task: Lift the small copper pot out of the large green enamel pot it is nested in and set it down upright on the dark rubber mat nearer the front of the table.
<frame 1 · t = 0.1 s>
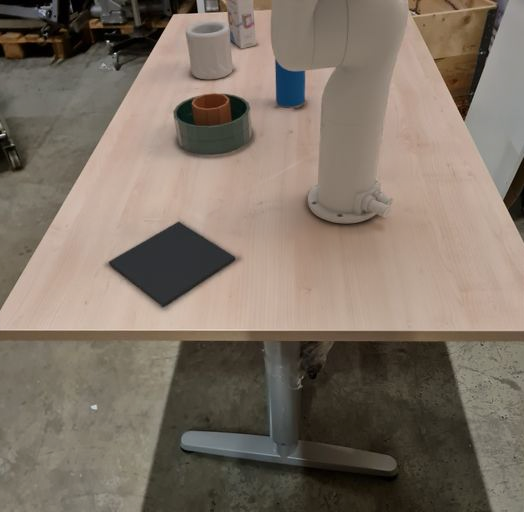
rubber mat: (172, 262, 75), on the table
green pot: (215, 138, 100), on the table
mug: (210, 71, 124), on the table
ink box: (242, 43, 136), on the table
copper pot: (214, 136, 100), point 1 cm above the table, touching green pot
beverage can: (290, 105, 109), on the table
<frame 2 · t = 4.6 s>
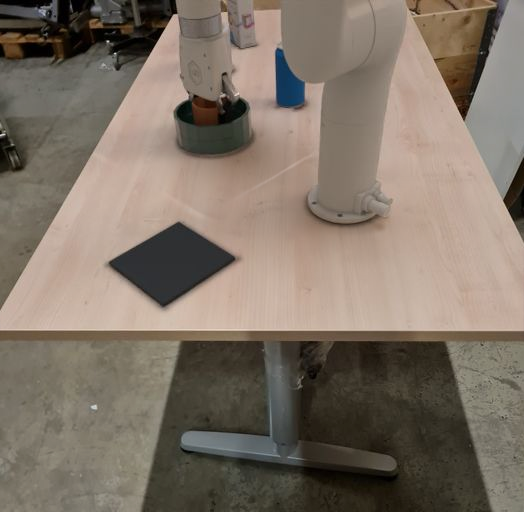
hand: (213, 125, 98), 3 cm above the table, tool pointing down, fingers closed on copper pot, 7 cm apart
copper pot: (214, 136, 100), point 1 cm above the table, touching green pot, gripper
everything else where it was.
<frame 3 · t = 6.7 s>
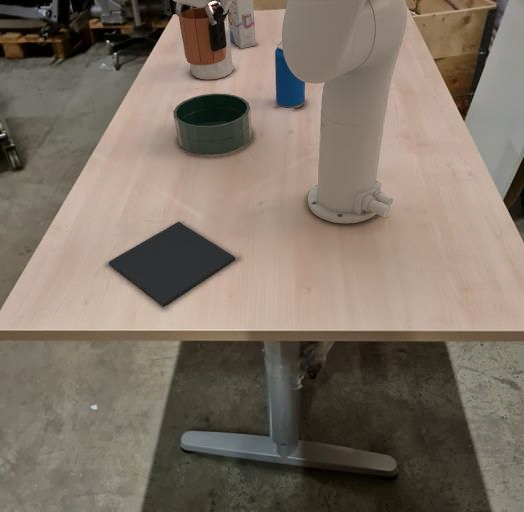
hand: (204, 44, 86), 18 cm above the table, tool pointing down, fingers closed on copper pot, 7 cm apart
copper pot: (206, 58, 88), point 15 cm above the table, touching gripper
everything else where it was.
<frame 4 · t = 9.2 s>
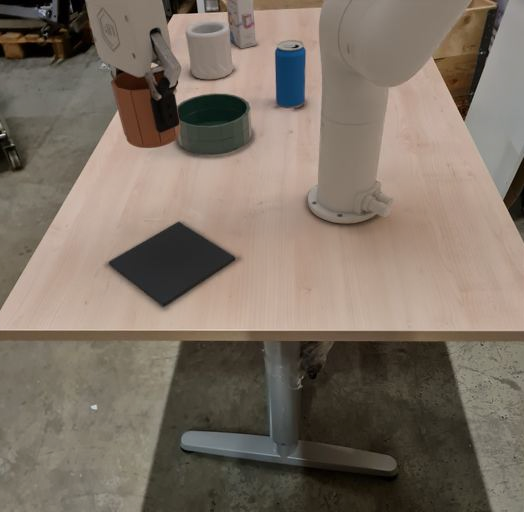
hand: (150, 118, 63), 20 cm above the table, tool pointing down, fingers closed on copper pot, 7 cm apart
copper pot: (153, 135, 64), point 18 cm above the table, touching gripper
everything else where it was.
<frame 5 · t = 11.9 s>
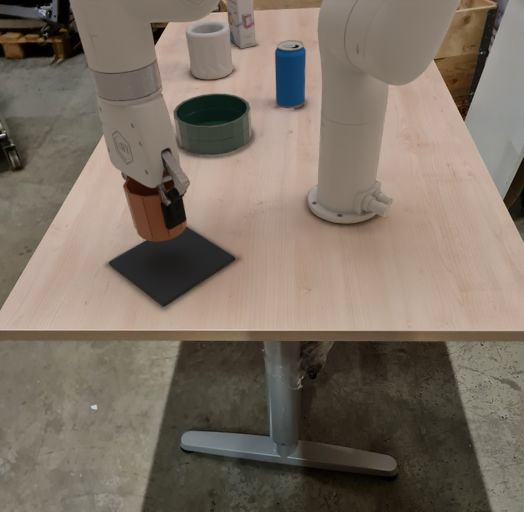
hand: (158, 212, 68), 9 cm above the table, tool pointing down, fingers closed on copper pot, 7 cm apart
copper pot: (161, 226, 69), point 7 cm above the table, touching gripper
everything else where it was.
when the fingers open (3 cm above the table, at t = 13.9 s): copper pot stays where it is, resting on rubber mat.
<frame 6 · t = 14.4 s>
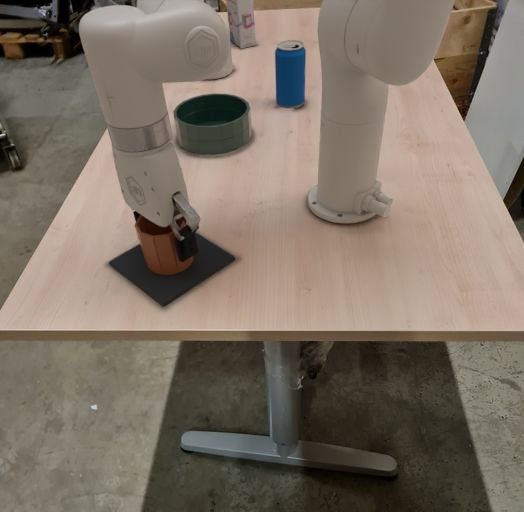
hand: (168, 243, 72), 4 cm above the table, tool pointing down, fingers open, 9 cm apart
copper pot: (170, 259, 74), point 1 cm above the table, touching rubber mat
everything else where it was.
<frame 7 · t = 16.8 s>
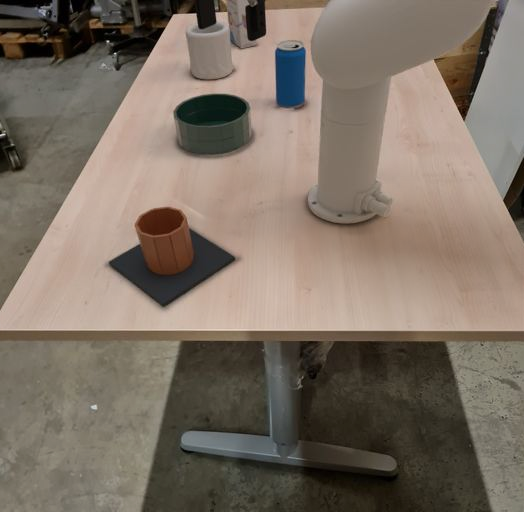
hand: (231, 32, 68), 25 cm above the table, tool pointing down, fingers open, 9 cm apart
nothing on the table moved.
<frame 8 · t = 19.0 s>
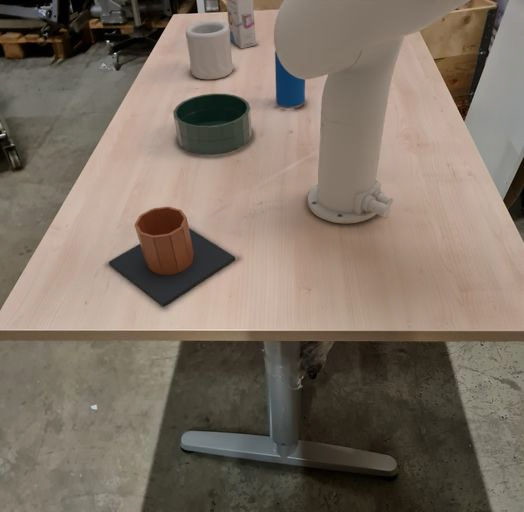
nothing on the table moved.
at the end: copper pot inside the target area on the rubber mat (0.2 cm from its centre), point 0.6 cm above the rubber mat's base; copper pot tilted 0°; copper pot touching rubber mat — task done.
